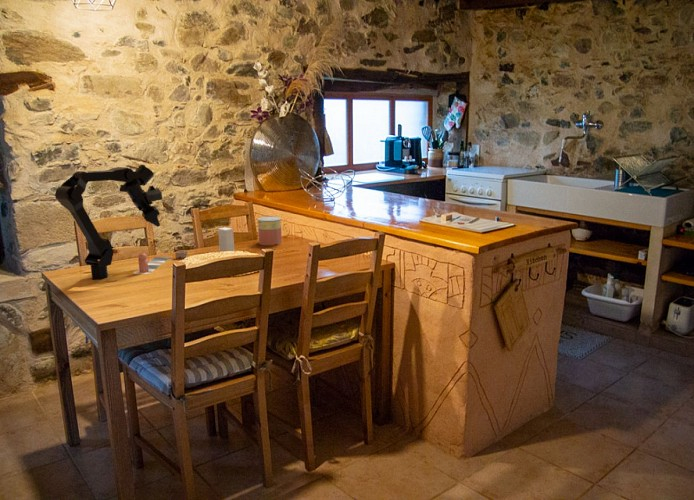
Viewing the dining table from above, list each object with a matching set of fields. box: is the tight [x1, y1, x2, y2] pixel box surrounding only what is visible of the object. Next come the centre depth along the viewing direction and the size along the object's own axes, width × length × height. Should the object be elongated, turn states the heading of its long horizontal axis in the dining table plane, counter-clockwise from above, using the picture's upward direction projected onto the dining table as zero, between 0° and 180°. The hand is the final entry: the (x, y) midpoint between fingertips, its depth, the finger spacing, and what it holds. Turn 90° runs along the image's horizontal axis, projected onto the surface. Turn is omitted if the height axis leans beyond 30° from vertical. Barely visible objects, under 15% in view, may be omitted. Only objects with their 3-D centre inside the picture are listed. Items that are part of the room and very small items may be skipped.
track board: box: [132, 256, 173, 275], centre depth 238 cm, size 27×8×1 cm, turn 179°
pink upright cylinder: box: [137, 252, 149, 273], centre depth 227 cm, size 3×3×7 cm
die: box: [174, 250, 189, 260], centre depth 249 cm, size 4×4×4 cm
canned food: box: [257, 216, 283, 246], centre depth 280 cm, size 11×11×12 cm
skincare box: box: [217, 227, 235, 253], centre depth 257 cm, size 6×4×12 cm
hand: (155, 221), depth 241 cm, fingers open, 9 cm apart
